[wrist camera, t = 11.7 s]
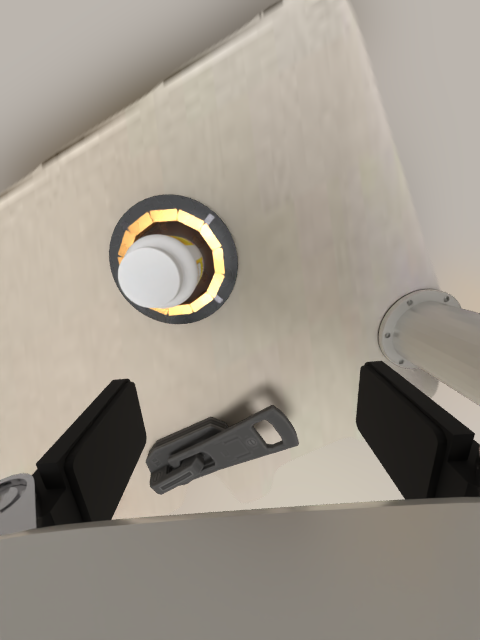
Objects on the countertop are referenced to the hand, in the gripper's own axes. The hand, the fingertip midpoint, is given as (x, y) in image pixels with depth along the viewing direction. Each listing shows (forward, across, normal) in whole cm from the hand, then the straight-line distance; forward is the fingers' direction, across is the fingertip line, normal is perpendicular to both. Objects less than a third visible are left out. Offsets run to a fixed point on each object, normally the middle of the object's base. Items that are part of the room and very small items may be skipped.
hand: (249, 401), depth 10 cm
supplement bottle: (+23, +8, -4) cm, 25 cm away
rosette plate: (+24, +8, -4) cm, 26 cm away
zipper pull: (+25, +6, +24) cm, 35 cm away
